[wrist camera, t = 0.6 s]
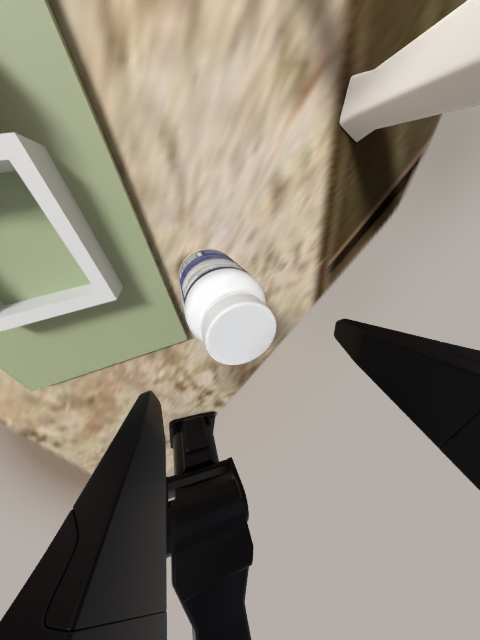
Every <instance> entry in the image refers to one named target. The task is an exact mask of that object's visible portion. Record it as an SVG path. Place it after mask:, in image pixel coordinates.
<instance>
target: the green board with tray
mask: <svg viewBox="0 0 480 640" xmlns="http://www.w3.org/2000/svg"><path fill="white" fill-rule="evenodd" d="M185 340H187V335H186V332H185V330H184V327H183V325H182V322H181V320H180V318H179V315H178V313H177V310H176V308H175V305H174V303H173V301H172V298H171V296H170V293H169V291H168V289H167V286H166V284H165V281H164V279H163V277H162V274H161V272H160V269H159V267H158V265H157V262H156V260H155V257H154V255H153V253H152V250H151V248H150V245H149V243H148V241H147V238H146V236H145V233H144V231H143V229H142V226H141V224H140V221H139V219H138V216H137V214H136V212H135V209H134V207H133V204H132V202H131V200H130V197H129V195H128V192H127V190H126V188H125V185H124V183H123V180H122V178H121V176H120V173H119V171H118V168H117V166H116V164H115V161H114V159H113V156H112V154H111V152H110V149H109V147H108V144H107V142H106V140H105V137H104V135H103V132H102V130H101V127H100V125H99V123H98V120H97V118H96V115H95V113H94V111H93V108H92V106H91V103H90V101H89V99H88V96H87V94H86V91H85V89H84V87H83V84H82V82H81V79H80V77H79V75H78V72H77V70H76V67H75V65H74V63H73V60H72V58H71V55H70V53H69V51H68V48H67V46H66V43H65V41H64V38H63V36H62V34H61V31H60V29H59V26H58V24H57V22H56V19H55V17H54V14H53V12H52V10H51V7H50V5H49V2H48V0H0V369H2V370H3V371H4V372H6V373H7V374H8V375H10V376H11V377H13V378H14V379H15V380H17V381H18V382H19V383H21V384H22V385H23V386H25V387H26V388H27V389H29V390H30V391H35V390H38V389H41V388H44V387H47V386H50V385H53V384H56V383H59V382H62V381H65V380H68V379H71V378H74V377H77V376H80V375H83V374H86V373H89V372H92V371H95V370H98V369H101V368H104V367H107V366H110V365H113V364H116V363H119V362H122V361H125V360H128V359H131V358H134V357H137V356H140V355H143V354H146V353H149V352H152V351H155V350H158V349H161V348H164V347H167V346H170V345H173V344H176V343H179V342H182V341H185Z"/></svg>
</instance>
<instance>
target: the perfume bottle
mask: <svg viewBox="0 0 480 640" xmlns="http://www.w3.org/2000/svg"><path fill="white" fill-rule="evenodd" d="M476 105H480V0H468V1H466V2H465V3H464V4H462V5H461V6H459V7H458V8H457V9H455V10H454V11H453V12H451V13H450V14H449V15H447V16H446V17H445V18H443V19H442V20H441V21H439V22H438V23H436V24H435V25H434V26H432V27H431V28H430V29H428V30H427V31H426V32H424V33H423V34H422V35H420V36H419V37H418V38H416V39H415V40H414V41H412V42H411V43H409V44H408V45H407V46H405V47H404V48H403V49H401V50H400V51H399V52H397V53H396V54H395V55H393V56H392V57H391V58H389V59H388V60H387V61H385V62H384V63H382V64H381V65H380V66H378V67H377V68H376V69H374V70H371V71H367V72H363V73H360V74H356V75H353V76H352V77H351V79H350V82H349V86H348V89H347V93H346V97H345V101H344V105H343V109H342V113H341V117H340V125H341V127H342V128H343V129H344V130H345V131H346V132H347V133H348V134H349V135H350V136H351V137H352V138H353V139H354V140H355V141H356V142H358V141H359V140H361V139H362V138H364V137H365V136H366V135H368V134H369V133H371V132H372V131H374V130H375V129H379V128H383V127H387V126H392V125H396V124H400V123H404V122H409V121H413V120H417V119H421V118H425V117H430V116H434V115H438V114H442V113H446V112H451V111H455V110H459V109H464V108H468V107H472V106H476Z"/></svg>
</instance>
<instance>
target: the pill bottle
mask: <svg viewBox="0 0 480 640" xmlns="http://www.w3.org/2000/svg"><path fill="white" fill-rule="evenodd" d="M178 279H179V286H180V291H181V296H182V301H183V307H184V312H185V317H186V321H187V324H188V326H189V328H190V330H191V332H192V333H193V334H194V335H195V336H196V337H197V338H198V339H199V340H201V341H202V342H204V343H205V346H206V349H207V351H208V353H209V354H210V356H211V357H212V358H213V359H215V360H216V361H218V362H220V363H222V364H226V365H239V364H244V363H247V362H249V361H252V360H254V359H256V358H257V357H259V356H260V355H261V354H262V353H264V352H265V351H266V349H267V348H268V347H269V346H270V345H271V343H272V341H273V339H274V336H275V333H276V320H275V317H274V315H273V313H272V312H271V310H270V309H269V308H268V307H267V306H266V298H265V294H264V291H263V289H262V287H261V285H260V284H259V283H258V282H257V281H256V280H255V278H254V277H252V276H251V275H250V274H249V273H248V272H246V271H245V270H244V269H243V268H241V267H240V266H239V265H238V264H237V263H235V262H234V261H233V260H232V259H231V258H229V257H228V256H227V255H225V254H224V253H222V252H220V251H218V250H215V249H201V250H197V251H195V252H193V253H191V254H190V255H189V256H188V257H187V258H186V259H185V260H184V261H183V263H182V265H181V267H180V270H179V275H178Z"/></svg>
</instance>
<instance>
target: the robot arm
mask: <svg viewBox="0 0 480 640" xmlns="http://www.w3.org/2000/svg"><path fill="white" fill-rule="evenodd" d="M334 336H335V338H336V339H337V341H338V342H339V343H340V344H341V346H342V347H343V348H344V349H345V351H346V352H347V353H348V354H349V356H350V357H351V358H352V359H353V361H354V362H355V363H356V364H357V365H358V366H359V367H360V368H361V369H362V370H363V371H364V372H365V373H366V374H367V375H368V376H369V377H370V378H371V379H372V380H373V381H374V382H375V383H376V384H377V385H378V386H379V388H380V389H381V390H382V391H383V392H384V393H385V394H386V395H387V396H389V398H390V399H391V400H392V401H393V402H394V403H395V404H396V405H397V406H398V407H399V408H400V409H401V410H402V411H403V412H404V413H405V414H406V415H407V416H408V417H409V418H410V419H411V420H412V421H413V422H414V423H415V424H416V425H417V426H418V427H419V428H420V430H422V431H423V433H425V435H426V436H427V437H428V438H429V439H430V440H431V441H432V442H433V443H434V444H435V445H436V446H437V447H438V448H439V449H440V450H441V451H442V452H443V453H444V454H445V455H446V456H447V457H448V458H449V459H450V460H451V461H452V462H453V464H454V465H455V466H456V467H458V469H459V470H461V472H462V473H463V474H464V475H465V476H466V477H467V478H468V479H469V480H470V481H471V482H472V483H473V484H474V485H475V486H476V487H477V488H478V489H479V490H480V351H479V350H474V349H470V348H465V347H462V346H457V345H453V344H449V343H445V342H440V341H436V340H432V339H428V338H424V337H420V336H415V335H411V334H407V333H403V332H399V331H395V330H390V329H386V328H382V327H378V326H374V325H369V324H366V323H361V322H357V321H353V320H349V319H342V320H339V321H337V322H336V325H335V331H334ZM214 421H215V413H214V412H210V413H206V414H201V415H197V416H192V417H188V418H183V419H179V420H174V421H171V422H170V423H169V430H170V444H171V448H173V451H174V474H175V475H174V476H171V477H166V446H165V435H164V426H163V418H162V410H161V404H160V402H159V400H158V399H157V397H156V396H155V394H154V393H153V392H152V391H147V392H145V393H142V394H141V395H140V396H139V397H138V399H137V400H136V402H135V404H134V405H133V407H132V409H131V411H130V412H129V414H128V416H127V417H126V419H125V421H124V422H123V424H122V426H121V427H120V429H119V431H118V432H117V434H116V436H115V437H114V439H113V441H112V442H111V444H110V446H109V447H108V449H107V451H106V452H105V454H104V456H103V457H102V459H101V461H100V463H99V464H98V466H97V468H96V469H95V471H94V473H93V474H92V476H91V478H90V479H89V481H88V483H87V484H86V486H85V488H84V490H83V491H82V493H81V494H80V496H79V498H78V499H77V501H76V503H75V504H74V506H73V510H71V511H70V513H69V514H68V516H67V518H66V519H65V521H64V523H63V525H62V526H61V528H60V530H59V531H58V533H57V534H56V536H55V537H54V539H53V541H52V542H51V544H50V546H49V547H48V549H47V551H46V552H45V554H44V555H43V557H42V559H41V560H40V562H39V563H38V565H37V566H36V568H35V569H34V571H33V573H32V574H31V576H30V577H29V579H28V580H27V582H26V583H25V585H24V586H23V588H22V589H21V591H20V592H19V594H18V596H17V597H16V599H15V600H14V602H13V603H12V605H11V606H10V608H9V609H8V611H7V612H6V614H5V615H4V617H3V618H2V620H1V621H0V640H167V612H166V607H167V605H166V558H168V557H170V556H171V577H172V578H171V579H172V586H173V588H174V590H175V592H176V594H177V596H178V598H179V600H180V603H181V605H182V607H183V609H184V611H185V613H186V615H187V617H188V619H189V621H190V623H191V625H192V634H193V640H251V636H250V631H249V625H248V620H247V614H246V609H245V593H246V585H247V577H248V569H249V566H250V565H252V561H253V543H252V540H251V536H250V532H249V528H248V524H247V521H248V518H249V512H248V504H247V499H246V494H245V491H244V488H243V485H242V483H241V480H240V478H239V475H238V472H237V470H236V467H235V465H234V462H233V459H232V457H231V458H228V459H227V460H224V461H221V462H219V460H218V455H217V450H216V445H215V441H214V436H213V429H214ZM173 497H175V499H174V500H171V501H169V502H168V499H170V498H173Z"/></svg>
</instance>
